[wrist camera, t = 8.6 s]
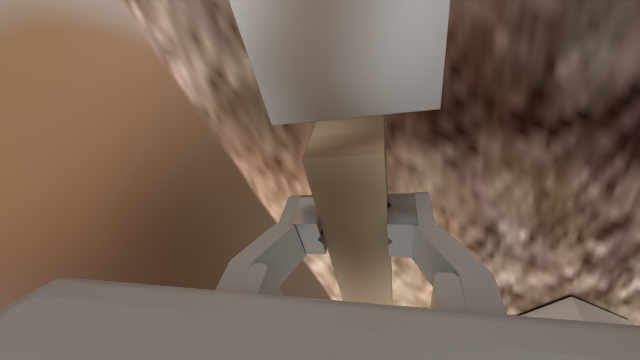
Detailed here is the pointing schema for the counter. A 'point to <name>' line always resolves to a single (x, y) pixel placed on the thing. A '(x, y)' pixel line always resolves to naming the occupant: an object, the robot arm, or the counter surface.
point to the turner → (347, 108)
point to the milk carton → (576, 312)
